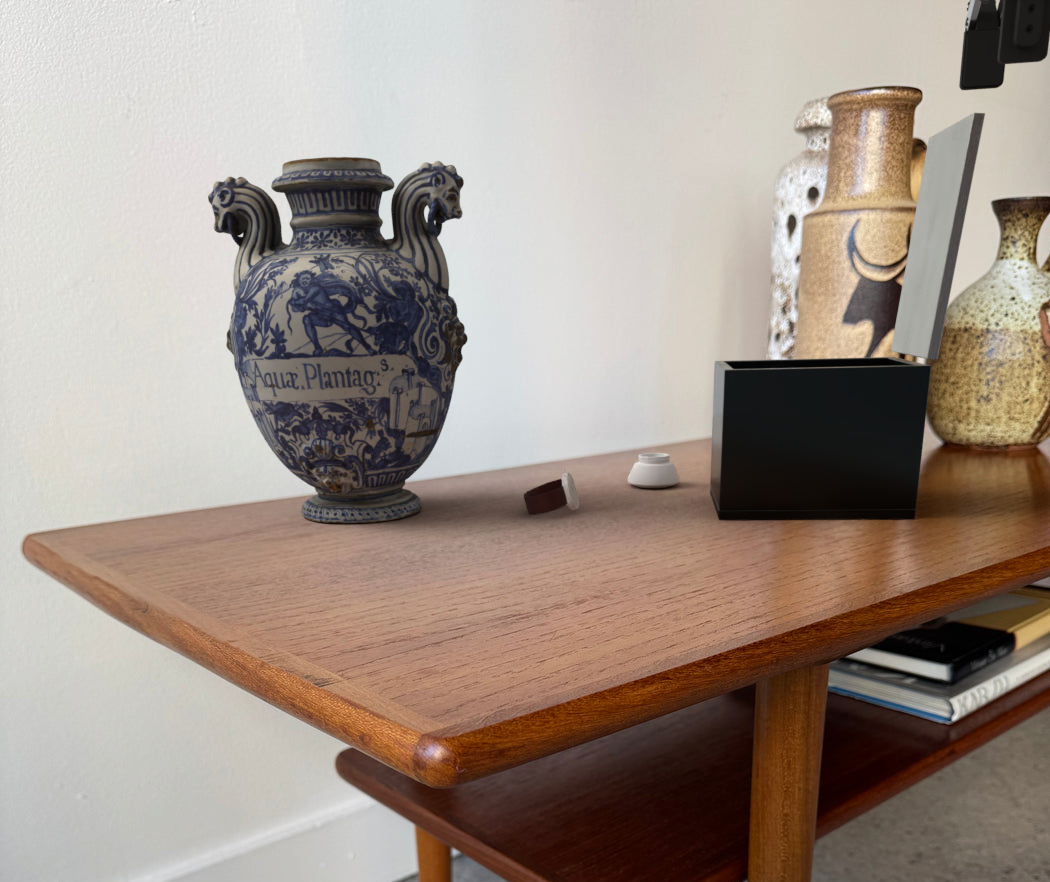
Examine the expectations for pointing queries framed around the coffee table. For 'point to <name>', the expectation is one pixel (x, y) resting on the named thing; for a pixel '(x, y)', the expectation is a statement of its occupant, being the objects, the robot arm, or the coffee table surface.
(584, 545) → the coffee table surface
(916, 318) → the bin lid
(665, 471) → the lidless jar
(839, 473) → the waste bin
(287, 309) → the decorative vase
